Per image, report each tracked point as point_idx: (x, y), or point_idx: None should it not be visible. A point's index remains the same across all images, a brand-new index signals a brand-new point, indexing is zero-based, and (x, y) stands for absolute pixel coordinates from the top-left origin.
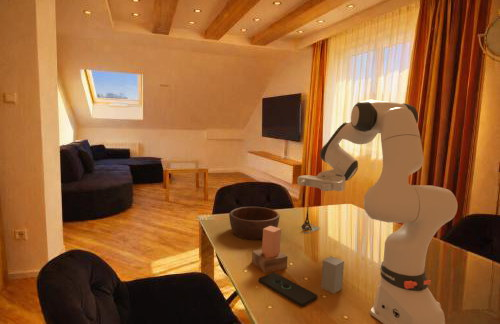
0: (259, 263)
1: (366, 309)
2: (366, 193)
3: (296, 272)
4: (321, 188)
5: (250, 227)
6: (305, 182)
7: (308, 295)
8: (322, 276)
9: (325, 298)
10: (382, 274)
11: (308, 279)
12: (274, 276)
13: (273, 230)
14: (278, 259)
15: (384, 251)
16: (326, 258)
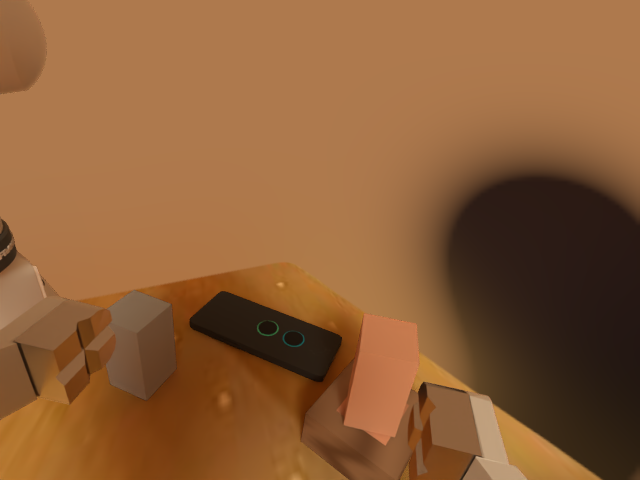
0: None
1: None
2: (29, 5)
3: (260, 423)
4: (114, 348)
5: None
6: (423, 437)
7: (210, 314)
8: (173, 342)
9: None
10: (14, 248)
11: (215, 396)
12: (311, 357)
13: (375, 325)
14: (327, 389)
15: None
16: (157, 315)
